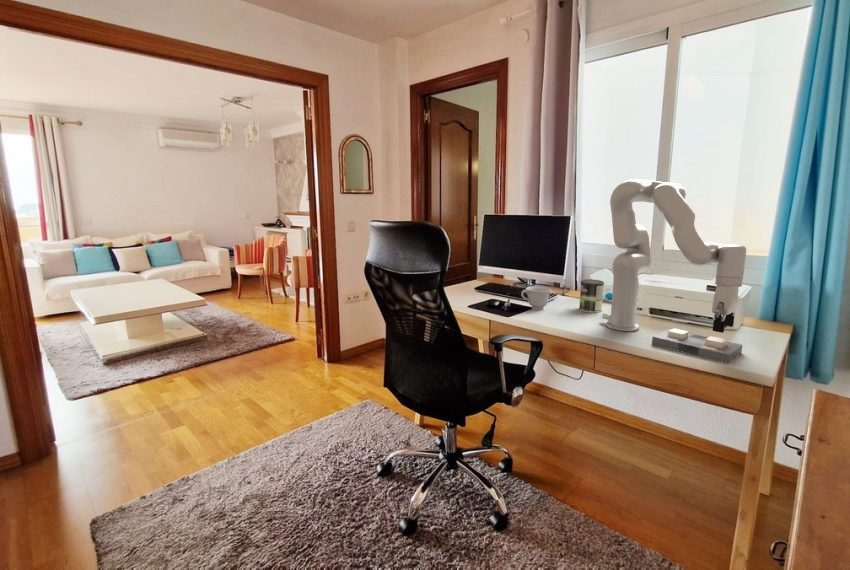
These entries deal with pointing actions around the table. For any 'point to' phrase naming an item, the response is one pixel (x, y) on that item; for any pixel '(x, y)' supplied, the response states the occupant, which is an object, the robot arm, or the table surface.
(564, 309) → the table surface
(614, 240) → the robot arm
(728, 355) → the switch panel
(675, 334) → the switch left
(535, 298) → the teacup
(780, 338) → the table surface
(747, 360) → the table surface
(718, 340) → the switch right
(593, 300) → the coffee can
